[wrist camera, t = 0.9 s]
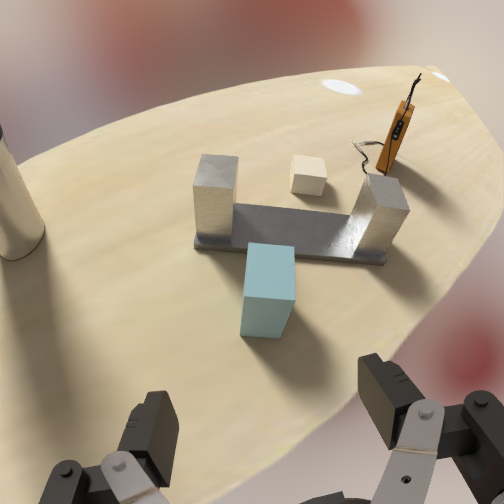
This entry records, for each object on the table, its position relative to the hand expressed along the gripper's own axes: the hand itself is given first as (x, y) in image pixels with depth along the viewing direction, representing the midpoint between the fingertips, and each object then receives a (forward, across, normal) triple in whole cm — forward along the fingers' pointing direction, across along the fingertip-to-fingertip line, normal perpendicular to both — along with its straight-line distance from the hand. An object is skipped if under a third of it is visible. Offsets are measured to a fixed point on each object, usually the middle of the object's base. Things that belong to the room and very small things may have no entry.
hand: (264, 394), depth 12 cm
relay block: (+42, -12, -6) cm, 44 cm away
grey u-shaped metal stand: (+33, -7, 0) cm, 34 cm away
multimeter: (+50, -27, -9) cm, 58 cm away
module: (+24, -1, +7) cm, 25 cm away
